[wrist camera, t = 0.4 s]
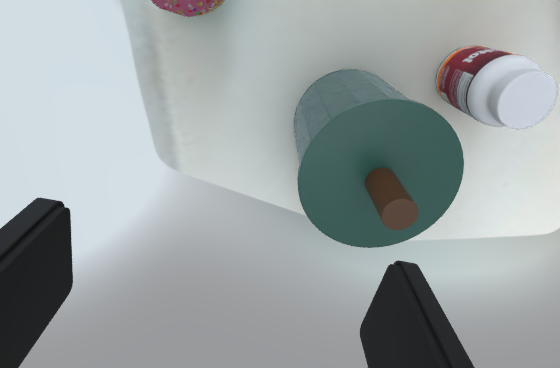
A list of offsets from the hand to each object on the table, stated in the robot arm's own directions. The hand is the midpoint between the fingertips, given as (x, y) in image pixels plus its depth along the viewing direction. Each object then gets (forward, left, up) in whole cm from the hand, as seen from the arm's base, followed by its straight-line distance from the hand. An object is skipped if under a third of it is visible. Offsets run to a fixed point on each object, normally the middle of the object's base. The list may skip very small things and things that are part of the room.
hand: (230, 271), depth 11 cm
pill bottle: (-18, +11, -31) cm, 38 cm away
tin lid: (-5, +9, -17) cm, 20 cm away
